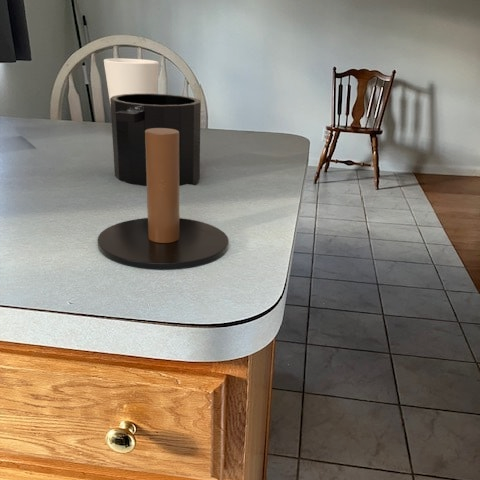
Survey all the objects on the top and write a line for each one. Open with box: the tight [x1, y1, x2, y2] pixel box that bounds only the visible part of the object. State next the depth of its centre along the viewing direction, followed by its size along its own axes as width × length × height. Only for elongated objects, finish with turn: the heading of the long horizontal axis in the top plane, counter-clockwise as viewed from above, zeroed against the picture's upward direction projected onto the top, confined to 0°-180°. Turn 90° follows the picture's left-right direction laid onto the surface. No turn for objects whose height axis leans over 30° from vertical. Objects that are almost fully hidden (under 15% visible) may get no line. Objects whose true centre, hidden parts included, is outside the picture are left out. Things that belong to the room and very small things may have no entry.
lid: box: [97, 128, 229, 270], centre depth 51 cm, size 13×13×11 cm
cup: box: [103, 57, 160, 107], centre depth 101 cm, size 10×10×13 cm
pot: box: [109, 93, 202, 187], centre depth 73 cm, size 12×17×10 cm
